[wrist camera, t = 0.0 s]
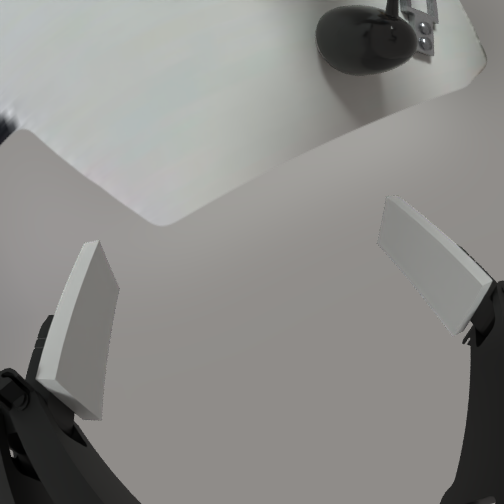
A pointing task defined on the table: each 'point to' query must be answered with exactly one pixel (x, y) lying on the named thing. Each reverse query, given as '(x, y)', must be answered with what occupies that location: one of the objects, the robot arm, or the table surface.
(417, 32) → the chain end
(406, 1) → the chain end
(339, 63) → the pump dispenser
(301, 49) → the table surface
